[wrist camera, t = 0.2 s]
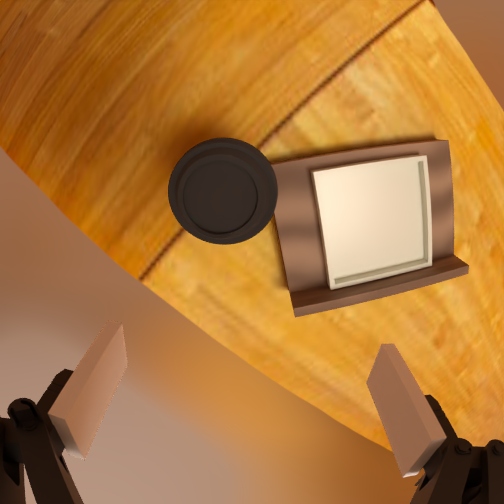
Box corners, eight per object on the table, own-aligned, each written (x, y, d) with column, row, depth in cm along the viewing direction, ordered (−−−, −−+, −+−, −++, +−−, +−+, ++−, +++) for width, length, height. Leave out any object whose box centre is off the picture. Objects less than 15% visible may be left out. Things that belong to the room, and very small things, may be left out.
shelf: (263, 164, 37) (266, 169, 31) (436, 139, 36) (466, 142, 29) (288, 290, 43) (295, 317, 36) (443, 255, 41) (468, 273, 35)
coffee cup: (205, 130, 36) (177, 125, 22) (278, 150, 37) (295, 156, 23) (187, 201, 39) (152, 237, 25) (257, 220, 40) (261, 266, 26)
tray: (310, 170, 35) (313, 172, 33) (419, 154, 34) (426, 155, 32) (327, 283, 39) (330, 289, 38) (425, 260, 38) (431, 265, 37)
